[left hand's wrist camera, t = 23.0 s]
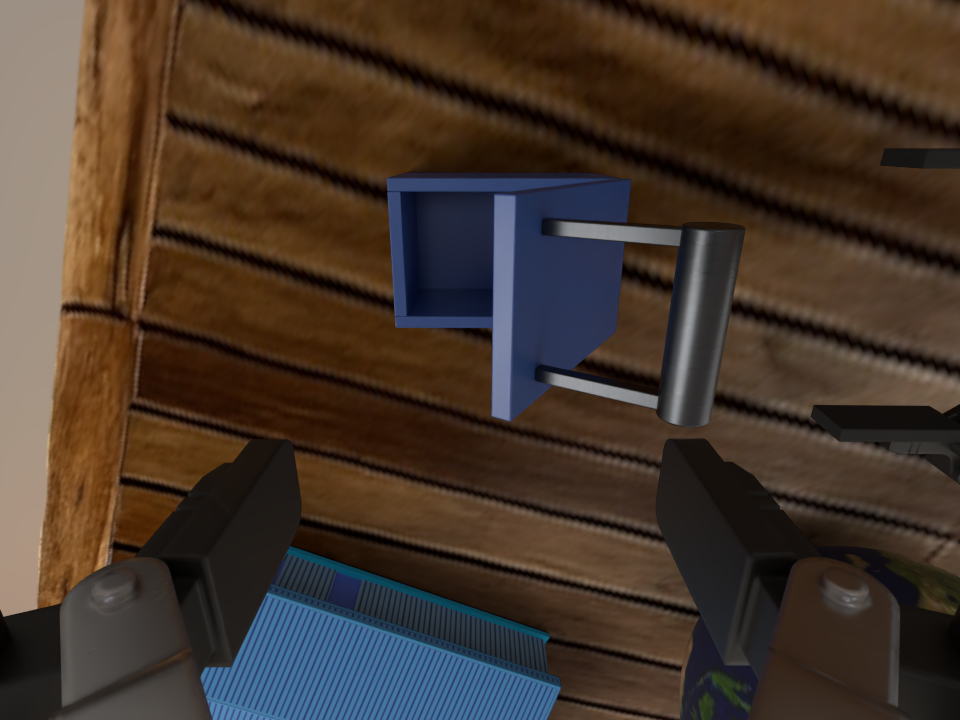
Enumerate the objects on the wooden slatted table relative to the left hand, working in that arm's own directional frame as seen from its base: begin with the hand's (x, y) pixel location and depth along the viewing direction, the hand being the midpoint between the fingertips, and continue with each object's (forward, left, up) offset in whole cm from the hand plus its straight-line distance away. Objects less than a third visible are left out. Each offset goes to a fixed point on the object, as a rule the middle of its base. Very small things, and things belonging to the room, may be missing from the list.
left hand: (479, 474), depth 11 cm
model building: (+48, +5, -34) cm, 59 cm away
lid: (-2, +4, -18) cm, 19 cm away
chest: (-1, +1, -34) cm, 34 cm away
